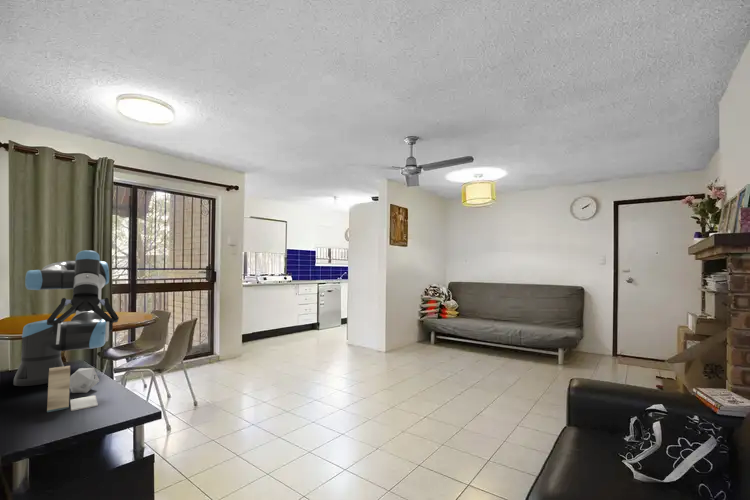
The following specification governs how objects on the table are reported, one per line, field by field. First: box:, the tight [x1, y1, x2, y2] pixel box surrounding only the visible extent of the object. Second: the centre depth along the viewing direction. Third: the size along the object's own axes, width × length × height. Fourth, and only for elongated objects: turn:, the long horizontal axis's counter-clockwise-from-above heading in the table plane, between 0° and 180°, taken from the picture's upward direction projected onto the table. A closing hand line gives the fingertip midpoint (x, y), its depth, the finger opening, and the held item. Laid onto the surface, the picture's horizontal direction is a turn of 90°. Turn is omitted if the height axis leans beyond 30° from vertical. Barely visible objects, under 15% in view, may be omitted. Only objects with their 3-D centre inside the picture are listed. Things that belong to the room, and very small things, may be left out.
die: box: [69, 367, 100, 394], centre depth 131 cm, size 8×9×10 cm
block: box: [46, 365, 71, 413], centre depth 115 cm, size 5×5×12 cm
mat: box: [69, 394, 99, 412], centre depth 119 cm, size 12×6×1 cm, turn 40°
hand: (83, 341), depth 130 cm, fingers open, 13 cm apart
